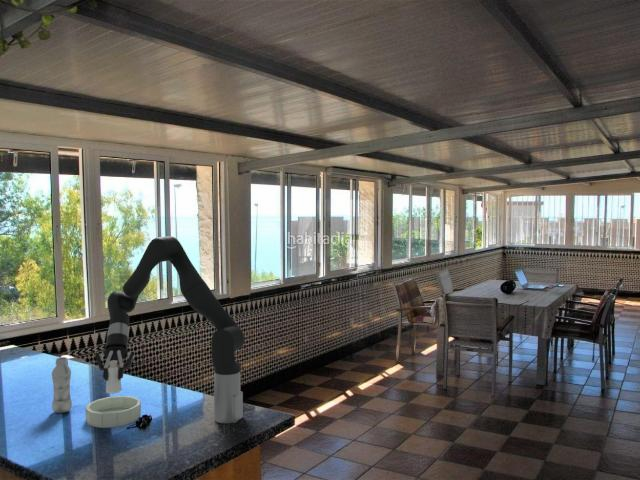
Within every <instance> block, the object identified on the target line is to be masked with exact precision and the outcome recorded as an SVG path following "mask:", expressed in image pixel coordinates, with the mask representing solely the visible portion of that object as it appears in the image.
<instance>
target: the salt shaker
mask: <svg viewBox="0 0 640 480" xmlns="http://www.w3.org/2000/svg"><path fill="white" fill-rule="evenodd" d="M117 362H118V361H117V360H112V361H110V362H109V363H110V367H109V368H108V380H107V381H106V383H105V393H106V394H118V393H120V392H121V391H122V388H123V387H122V382H121V381H122V380H118V373H119V368H120V366H119V367H118V363H117Z"/></svg>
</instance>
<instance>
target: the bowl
mask: <svg viewBox="0 0 640 480" xmlns="http://www.w3.org/2000/svg"><path fill="white" fill-rule="evenodd" d="M141 413H142V401H141V399H139V398H137V397H135V396H128V395H118V396H117V395H116V396H108V397H103V398H99V399H96V400H93V401H91V402H90V403H88V404H87V405H86V407H85V421H86V424H87V425H88V426H89V427H94V428H99V429H107V428H108V429H110V428H111V429H112V428H118V427H122V426H127V425H130V424H132V423H134V422H137V421H138V420H139V419H140V418H141ZM139 417H140V418H139ZM138 418H139V419H138Z"/></svg>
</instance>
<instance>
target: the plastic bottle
mask: <svg viewBox="0 0 640 480" xmlns="http://www.w3.org/2000/svg"><path fill="white" fill-rule="evenodd" d="M71 374H72V370H71V368H70V367H69V365H68V357H56V359H55V367H54V368H53V369H52V371H51V380H52V386H53V395H52V396H53V397H52V398H53V399H52V404H51V408H52V411H53V412H54V413H55V414H63V413H68V412H69V411H71V410H72V407H73V406H72V405H73V402H72V398H71V376H72V375H71Z"/></svg>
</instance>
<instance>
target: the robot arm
mask: <svg viewBox="0 0 640 480" xmlns="http://www.w3.org/2000/svg"><path fill="white" fill-rule="evenodd" d="M162 262H170V264H172V266H173V267H174V269H175V270H176V272H177V275H178V280H179V281H178V283H179V290H180V291H181V294H182V296H183V298H184V299H185V300H186V302H187V304H188V305H189V307H191V308H192V309H193V310H194V311H195V312H197V313H198V314H199V315H201V316H202V317H204V318H205V319H207V320H208V321H209V322H210V323H211V324H212V326H214V328H215V329H216V330H215V331H214V332H213V333H212V337H211V342H210V343H211V344H210V347H211V348H210V349H211V364H212V366H213V368H214V369H213V371H214V372H213V373H214V374H213V376H214V377H213V379H214V380H213V382H214V385H213V386H214V391H213V392H214V397H213V398H214V401H213V403H214V409H213V410H214V414H213V415H214V422H216V423H219V424H236V423H237V422H239V420H241V419H242V418H243V416H244V415H243V414H244V413H243V412H244V411H243V409H244V407H243V406H244V405H243V403H244V402H243V401H244V398H243V397H244V395H243V394H244V392H243V391H241V370H242V368H241V363H240V362H239V361H237V360H236V359H235V351H238V350H239V349H241V348H242V347H243V346H244V344H245V340H246V339H245V335H244V332H243V329H241V327H240V326H239V325H238V324H237V322H235V320H234V319H233V318H232V317H231V316H230V314H228V312H227V311H226V309H225V308H224V307H223V305H222V304H221V303H220V301H219V300H218V299H217V297H216V296H215V295H214V293H213V291H212V290H211V288H210V287H209V285H208V284H207V282H205V280H204V278H203V277H202V276H201V275H200V273H199V271H198V270H197V269H196V267H195V266H194V265H193V263H192V262H191V260H190V258H189V256H188V254H187V253H186V250H185V249H184V247H183V245H182V244H181V242H180V241H179V240H178V239H177V238H176V237H175V236H170V235H167V236H160V237H156V238H153V239H152V240H151V241H150V242H149V243H148V245H147V247H146V248H145V250H144V252H143V255H142V257H141V258H140V261H139V262H138V264H137V266H136V268H135V270H134V271H133V272H132V273H131V275H130V276H129V278H128V279H126V281H125V282H124V284H123V286H122V291H123V292H122V291H119V290H118V291H117V290H115V291H112V292H111V293H110V294H109V295H108V297H107V310H108V313H109V324H108V325H109V326H108V330H107V335H106V343H105V350H103V352H102V353H98V352H97V353H96V354H95V358H96V361H97V364H98V369H99V370H100V371H103V373H102V378H103V380H104V382H105V381H106V382H107V380H108V368H110V363H109V362H110V361H112V360H117V361H118V362H117V364H119V373H118V380H121V379H123V378H124V371H125V370H129V369H130V368H131V366H132V363H133V361H134V360H135V358H136V356H135V355H136V354H135V352H134V351H131V352H130V351H129V350H128V344H129V334H130V333H129V327H130V315H129V314H128V313H131V312H132V311H134V309H135V307H136V305H137V301H138V298H139V297H140V295H141V293H143V291H144V290H145V289H146V287H147V286H148V284H149V282H150V281H151V273H152V271H153V270H154V268H156V267H157V266H158V265H159V264H160V263H162ZM126 357H127V360H126V362H125V363H124V362H123V361H124V360H125V358H126ZM104 358H105V359H106V360H105V363H104V365H103V362H102V361H103V359H104ZM121 381H122V380H121Z"/></svg>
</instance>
